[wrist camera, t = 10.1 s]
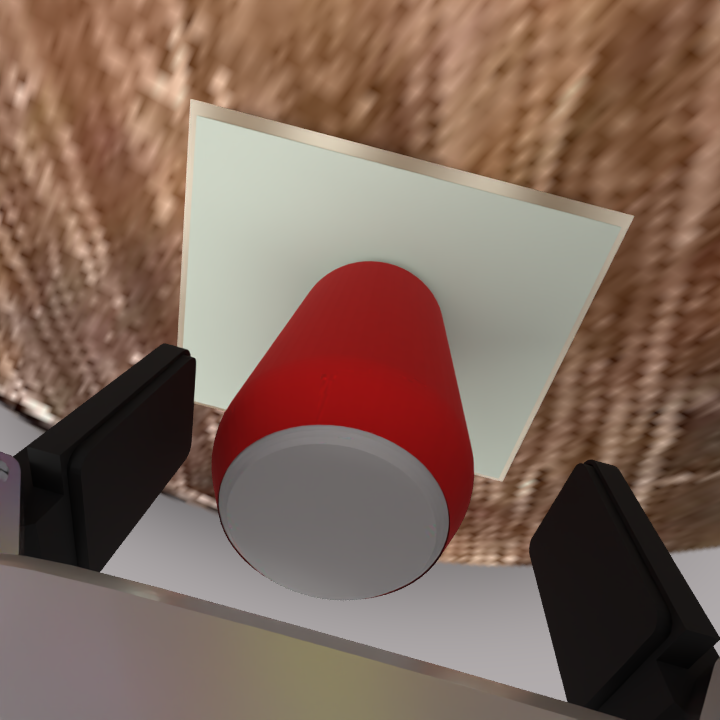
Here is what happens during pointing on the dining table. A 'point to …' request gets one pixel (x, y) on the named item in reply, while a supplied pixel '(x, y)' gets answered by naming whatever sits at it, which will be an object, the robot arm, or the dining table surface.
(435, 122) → the dining table surface
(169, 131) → the dining table surface
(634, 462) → the dining table surface
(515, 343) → the podium
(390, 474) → the beverage can
